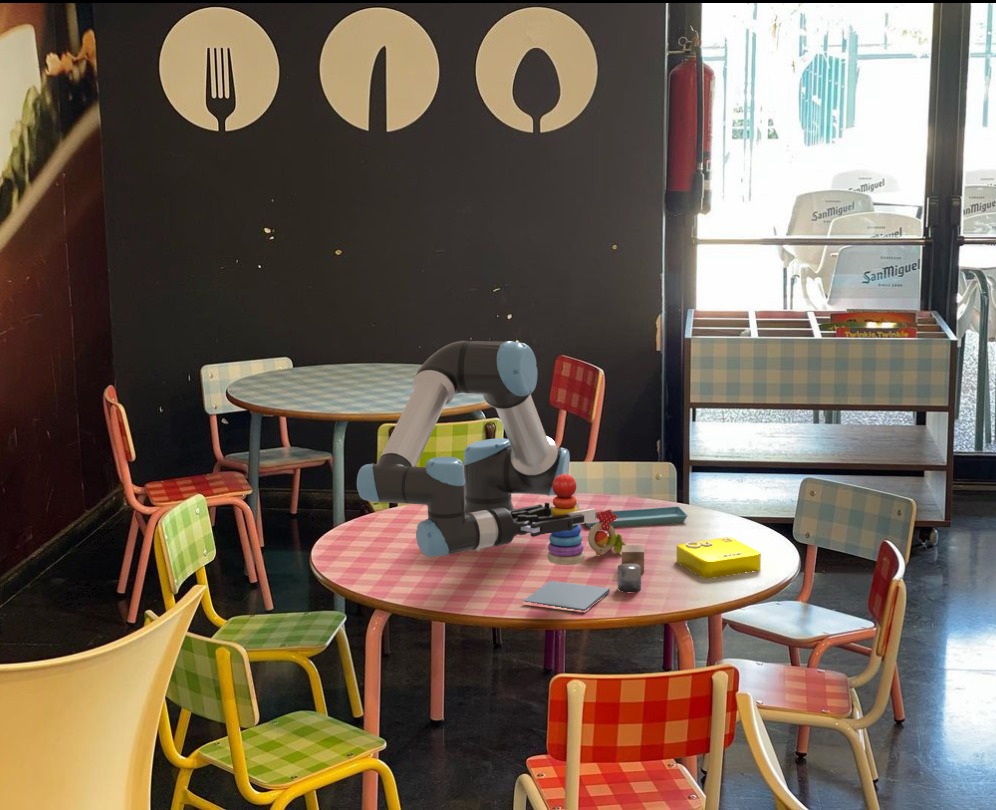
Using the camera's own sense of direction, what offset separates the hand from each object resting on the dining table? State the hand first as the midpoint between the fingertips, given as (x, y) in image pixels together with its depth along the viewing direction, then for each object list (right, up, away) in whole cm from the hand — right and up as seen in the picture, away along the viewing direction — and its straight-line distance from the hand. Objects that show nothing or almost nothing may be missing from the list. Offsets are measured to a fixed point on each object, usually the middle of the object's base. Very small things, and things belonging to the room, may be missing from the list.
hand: (585, 511), depth 283 cm
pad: (-4, -19, +1) cm, 19 cm away
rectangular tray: (+16, -8, +58) cm, 61 cm away
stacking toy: (-4, -11, -1) cm, 11 cm away
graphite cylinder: (+10, -17, +7) cm, 21 cm away
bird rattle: (+7, -13, +32) cm, 35 cm away
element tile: (+32, -15, +21) cm, 41 cm away
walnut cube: (+12, -15, +20) cm, 27 cm away
